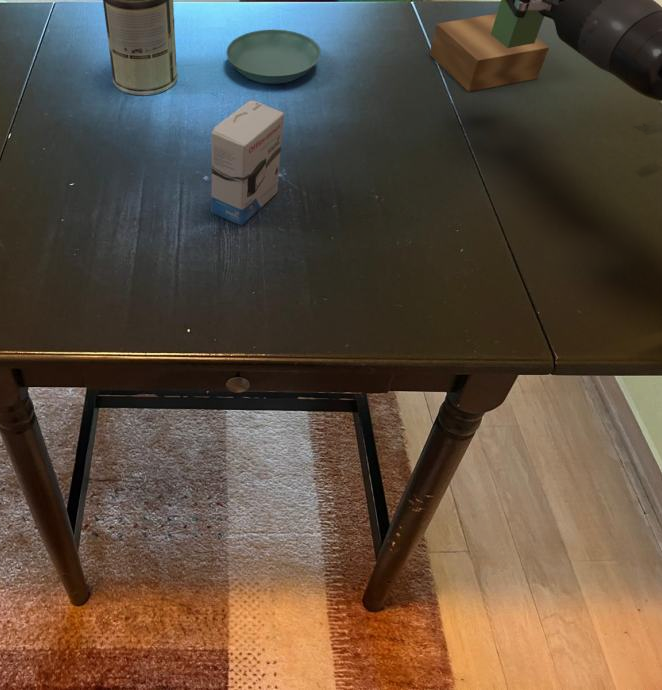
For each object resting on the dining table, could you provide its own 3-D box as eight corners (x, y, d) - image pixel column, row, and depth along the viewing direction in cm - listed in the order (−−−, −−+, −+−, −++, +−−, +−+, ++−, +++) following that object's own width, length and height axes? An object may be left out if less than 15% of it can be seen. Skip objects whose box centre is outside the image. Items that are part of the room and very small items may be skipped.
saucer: (292, 37, 115) (293, 21, 113) (336, 79, 106) (338, 62, 104) (211, 55, 112) (211, 39, 110) (250, 100, 103) (250, 83, 101)
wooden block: (494, 42, 113) (503, 12, 109) (537, 78, 106) (549, 47, 102) (428, 54, 111) (436, 23, 107) (468, 92, 104) (478, 60, 100)
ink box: (241, 227, 84) (244, 145, 75) (209, 212, 86) (208, 130, 77) (279, 192, 89) (286, 111, 80) (248, 179, 91) (252, 97, 82)
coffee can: (101, 72, 109) (88, -21, 98) (159, 56, 112) (153, -36, 101) (129, 103, 103) (119, 7, 92) (189, 84, 106) (186, -10, 95)
